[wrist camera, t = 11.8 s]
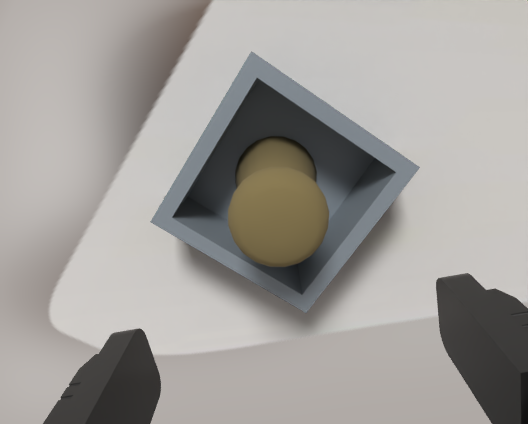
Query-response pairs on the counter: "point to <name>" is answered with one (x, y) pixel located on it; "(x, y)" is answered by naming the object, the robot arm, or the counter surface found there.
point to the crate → (328, 179)
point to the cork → (277, 203)
